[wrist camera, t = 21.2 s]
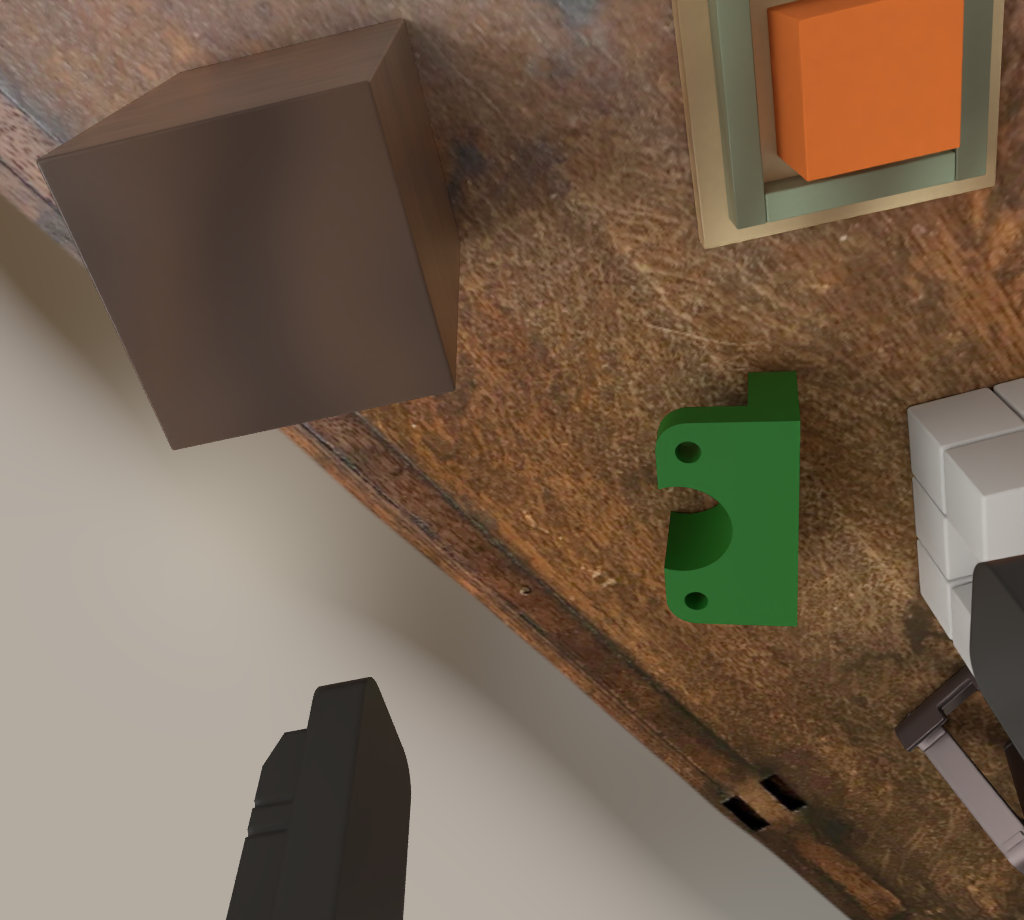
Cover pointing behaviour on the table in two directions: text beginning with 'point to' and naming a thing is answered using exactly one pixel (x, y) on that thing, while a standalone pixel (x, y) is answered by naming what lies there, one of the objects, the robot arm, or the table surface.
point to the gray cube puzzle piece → (966, 495)
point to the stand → (272, 236)
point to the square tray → (752, 137)
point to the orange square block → (864, 82)
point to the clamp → (735, 506)
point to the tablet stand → (967, 765)
